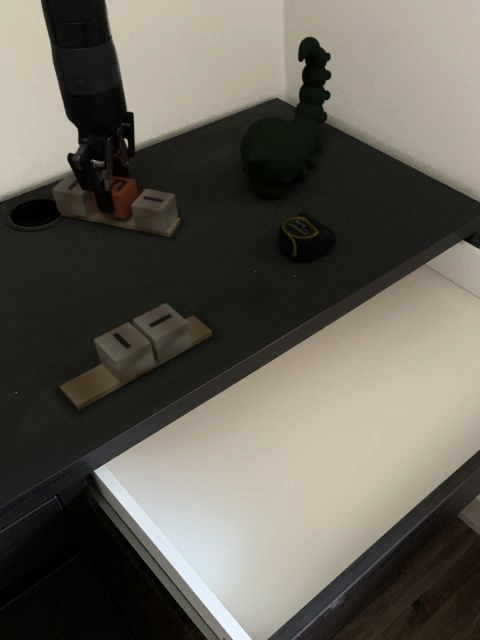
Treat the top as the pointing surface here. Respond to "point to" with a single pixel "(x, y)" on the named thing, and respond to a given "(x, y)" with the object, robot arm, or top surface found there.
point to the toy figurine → (289, 130)
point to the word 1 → (147, 216)
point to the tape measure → (305, 237)
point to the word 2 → (135, 352)
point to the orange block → (120, 196)
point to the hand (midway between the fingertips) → (116, 201)
